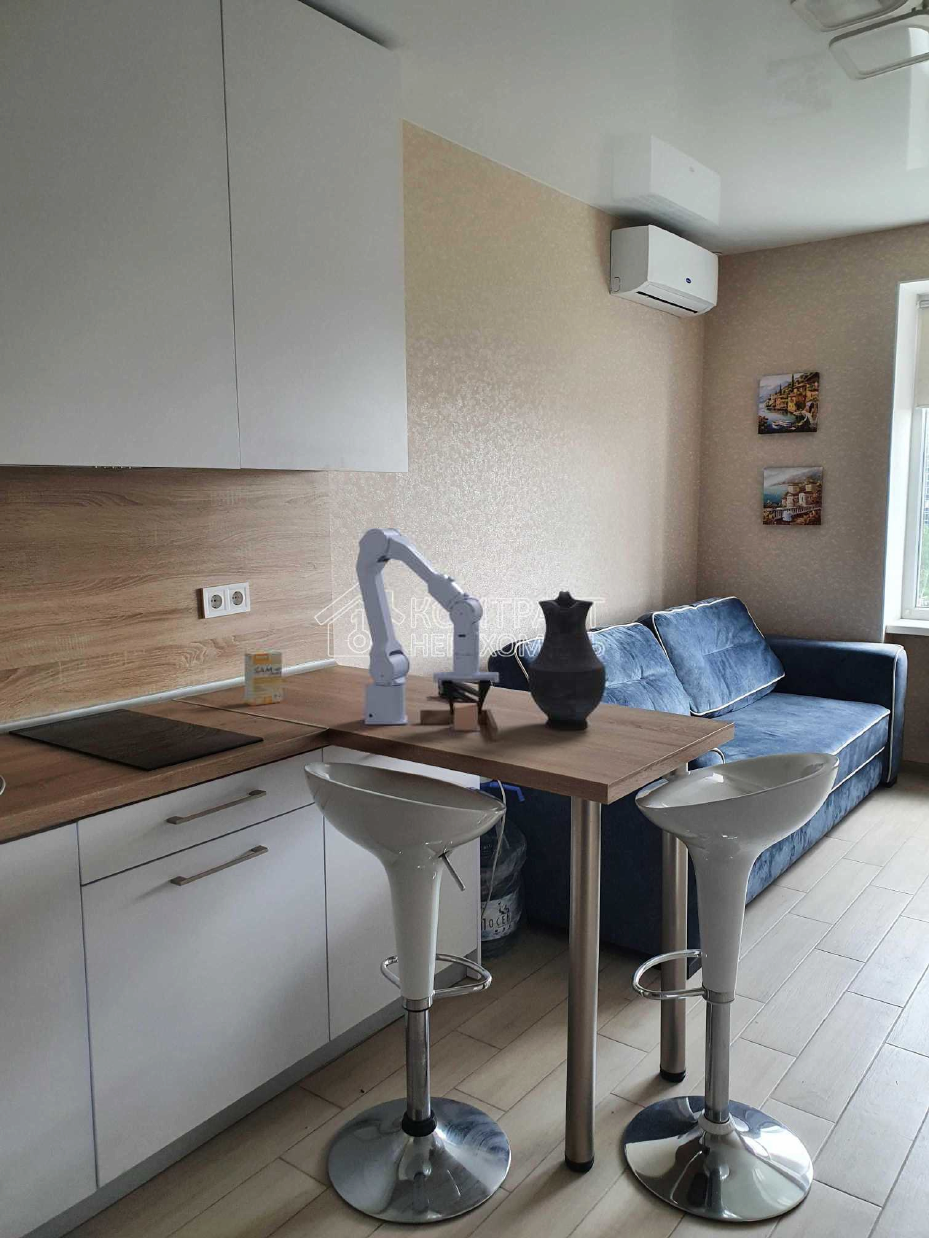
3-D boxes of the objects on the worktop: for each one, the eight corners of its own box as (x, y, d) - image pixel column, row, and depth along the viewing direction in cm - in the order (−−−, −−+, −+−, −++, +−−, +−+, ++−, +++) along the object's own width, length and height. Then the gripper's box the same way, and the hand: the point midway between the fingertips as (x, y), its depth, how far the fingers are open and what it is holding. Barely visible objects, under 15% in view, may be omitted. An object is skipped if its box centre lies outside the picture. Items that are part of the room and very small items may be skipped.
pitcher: (528, 734, 201) (530, 596, 198) (526, 713, 222) (528, 589, 219) (608, 735, 200) (612, 597, 197) (598, 715, 221) (601, 589, 218)
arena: (421, 741, 193) (421, 727, 193) (420, 722, 212) (420, 709, 211) (497, 741, 194) (497, 727, 194) (490, 722, 213) (490, 709, 212)
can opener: (431, 696, 244) (431, 675, 243) (453, 694, 247) (453, 673, 247) (467, 708, 229) (467, 686, 228) (490, 705, 232) (491, 683, 232)
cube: (454, 729, 204) (455, 707, 203) (453, 724, 208) (454, 703, 208) (477, 729, 204) (477, 707, 203) (475, 724, 209) (476, 703, 208)
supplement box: (253, 706, 228) (252, 653, 227) (244, 703, 232) (243, 651, 231) (283, 702, 233) (282, 651, 232) (274, 699, 237) (273, 648, 236)
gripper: (433, 656, 200) (433, 717, 202) (500, 656, 201) (499, 717, 202) (432, 651, 207) (432, 711, 209) (497, 651, 208) (496, 710, 209)
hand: (465, 714), depth 206 cm, fingers open, 5 cm apart
